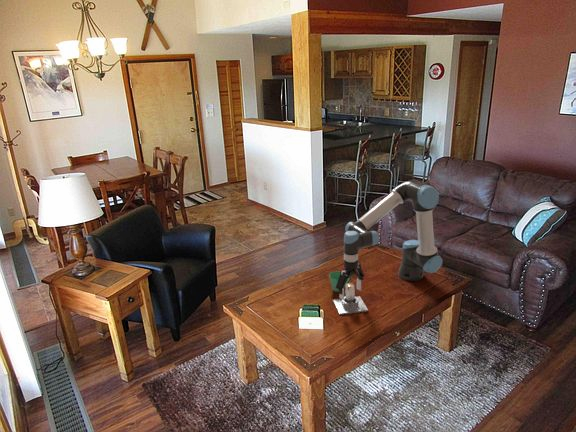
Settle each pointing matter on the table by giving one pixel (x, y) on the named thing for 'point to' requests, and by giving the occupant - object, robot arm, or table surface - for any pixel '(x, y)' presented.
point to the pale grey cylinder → (350, 293)
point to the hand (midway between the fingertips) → (350, 294)
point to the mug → (336, 279)
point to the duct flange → (350, 306)
